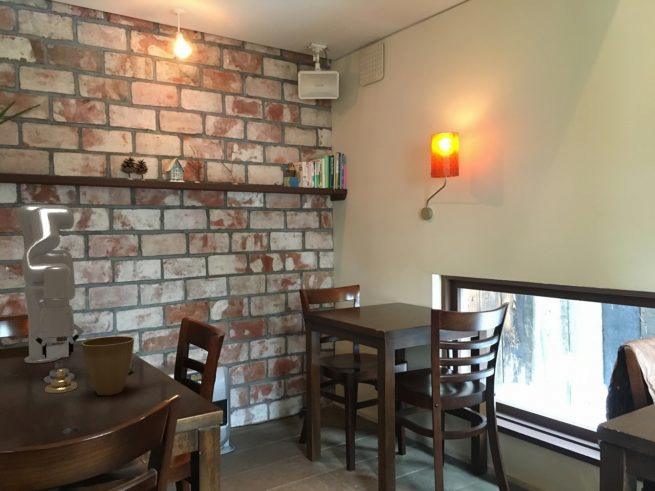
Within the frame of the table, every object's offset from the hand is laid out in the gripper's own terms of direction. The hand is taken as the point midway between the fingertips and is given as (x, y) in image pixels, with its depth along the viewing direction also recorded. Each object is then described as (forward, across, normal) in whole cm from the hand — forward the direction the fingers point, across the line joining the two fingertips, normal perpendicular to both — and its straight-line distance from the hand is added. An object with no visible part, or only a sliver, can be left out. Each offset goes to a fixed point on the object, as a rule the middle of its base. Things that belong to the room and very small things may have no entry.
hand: (58, 355), depth 177 cm
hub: (+8, +1, -13) cm, 15 cm away
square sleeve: (0, 0, 0) cm, 0 cm away
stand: (+8, 0, -1) cm, 8 cm away
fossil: (+8, +18, -3) cm, 20 cm away
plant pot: (+7, +15, -24) cm, 29 cm away
